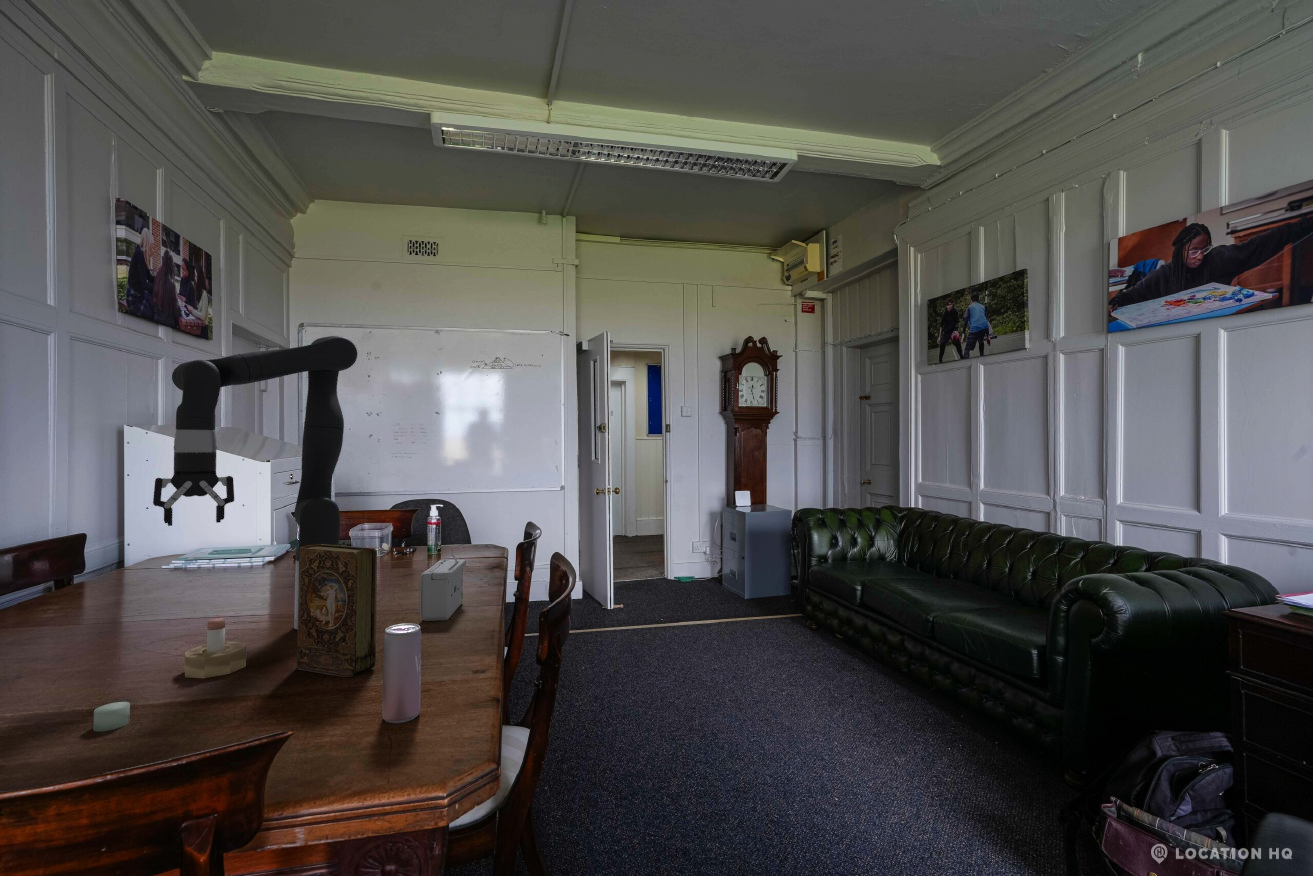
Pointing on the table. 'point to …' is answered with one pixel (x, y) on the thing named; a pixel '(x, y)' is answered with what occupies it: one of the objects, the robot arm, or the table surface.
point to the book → (337, 609)
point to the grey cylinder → (216, 635)
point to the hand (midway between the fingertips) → (194, 523)
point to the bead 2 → (215, 660)
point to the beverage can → (401, 673)
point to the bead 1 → (111, 716)
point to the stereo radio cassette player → (441, 589)
